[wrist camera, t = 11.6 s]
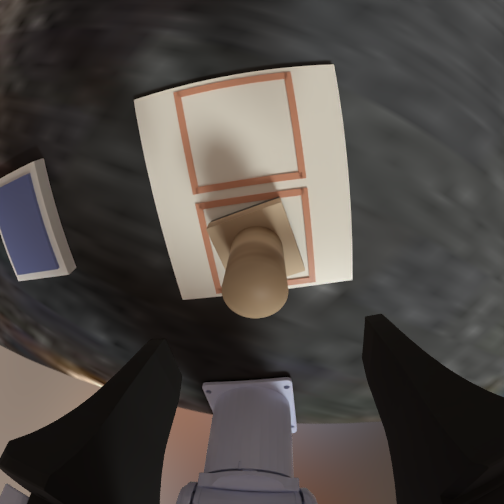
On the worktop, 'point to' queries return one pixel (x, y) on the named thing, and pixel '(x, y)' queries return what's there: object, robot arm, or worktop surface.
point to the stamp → (256, 257)
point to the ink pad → (32, 225)
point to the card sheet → (250, 168)
